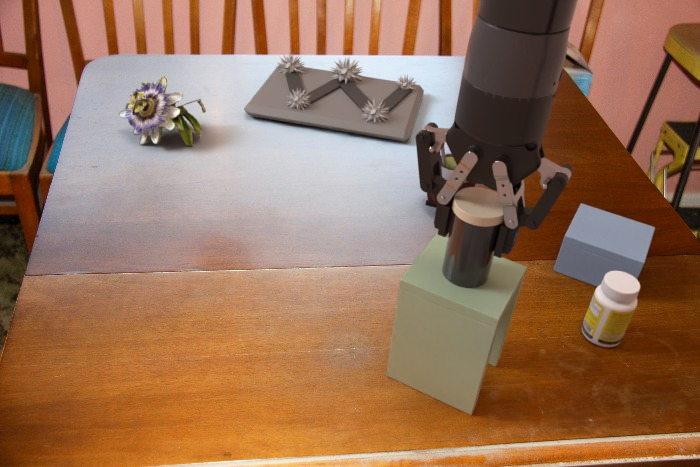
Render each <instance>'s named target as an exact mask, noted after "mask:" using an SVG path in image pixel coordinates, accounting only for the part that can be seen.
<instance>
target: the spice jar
mask: <svg viewBox="0 0 700 467" xmlns="http://www.w3.org/2000/svg"><path fill="white" fill-rule="evenodd" d="M452 208H453V216H452V221H451V226H450V231H449V233H448V235H447V237H448V241H447V246H446V251H445V256H444V260H443V265H442V272H443V275H444V276H445V278H446V279H447V280H448V281H449V282H451V283H453V284H455V285H457V286H460V287H464V288H476V287H479V286H482V285H483V284H485V283H486V282H487V280H488V277H489V273H490V270H491V266H492V262H493V258H494V256H493V254H494V250H495V246H496V243H497V239H498V235H499V231H500V227H501V225H502V223H503V222H504V216H503V209H502V206H500V204H499V198H498V192H497V191H495V190H492V189H490V188H487V187H481V186H480V187H479V186H475V187H469V188H464V189H461V190H460V191H458V192H457V193H456V194H455V196H454V199H453V205H452Z"/></svg>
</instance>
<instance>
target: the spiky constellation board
mask: <svg viewBox="0 0 700 467" xmlns="http://www.w3.org/2000/svg"><path fill="white" fill-rule="evenodd" d="M279 59H280V62H279V61H278V62H277V61H276V65H277V66H275V67H276V68H274V70H273V71H272V73H271V74H270V75H268V77H267V79H266V80H265V81H264V82H263V84H262V85H261V86H260V88H259V89H258V90H257V91H256V92H255V94H254V95H253V96H252V97H251V99H250V100H249V102H248V103H247V104H246V105H245V107H244V108H243V110H244V112H245V113H247V115H248V116H250V117H255V118H261V119H268V120H272V121H280V122H284V123H285V122H286V123H292V124H298V125H302V126H303V125H304V126H309V127H314V128H320V129H327V130H332V131H338V132H345V133H351V134H357V135H363V136H369V137H374V138H380V139H386V140H393V141H396V142H397V141H398V142H405V141H407V140H409V139H410V138H411V135H412V132H413V129H414V126H415V122H416V119H417V116H418V112H419V109H420V105H421V103H422V99H423V96H424V92H425V89H423V88H422V86H421V85H420V84H417V82H418V81H417V80H415V81H414V79H415V77H413V76H410V77H408V76H409V75H408V74H406V75H404V76H402V75H401V74H400V76H399V77H397V78H398V80H396V81H395V80H390V79H383V78H378V77H370V76H366V75H365V76H364V75H362V74H361V73H362V70H363V66H360V67H358V66H359V61H356V59H354V60H353V61H352V62H351V61H350V57H348V58H347V57H346V56H344V61H343V62H342V60H341V59H340V58H339V57H338V60H337V61H338V62H336V61H335V60H334V63H335V65H334V67H331V66H330V69H329V70H327V69H320V68H313V67H307V66H305V61H302V59H301V57H300V55H299V54H297V55H296V56H295V57H294V54H291V53H288V56H285V54H284V53H283V58H282V57H279Z"/></svg>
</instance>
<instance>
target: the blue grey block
mask: <svg viewBox="0 0 700 467" xmlns="http://www.w3.org/2000/svg"><path fill="white" fill-rule="evenodd" d="M655 230H656V227H655V226H652V225H649V224H647V223H643V222H640V221H637V220H634V219H631V218H628V217H625V216H622V215H619V214H615V213H613V212H610V211H608V210H607V211H606V210H604V209H601V208H598V207H594V206H592V205H588V204H585V203H580V204H579V206H578V208H577V209H576V213H575V214H574V215H573V218H572V220H571V222H570V224H569V226H568V228H567V230H566V232H565V234H564V237H563V240H562V242H561V246H560V248H559V251H558V254H557V257H556V261H555V263H554V266H553V271H554V272H555V273H559V274H561V275H564V276H567V277H570V278H572V279H575V280H577V281H581V282H583V283H586V284H589V285H591V286H594V287H596V288H597V287H598V286H599V285H601V283H602V281H603V278H604V276H605V275H606V273H608V272H610V271H622V272H626V273H628V274H630V275H632V276H633V277H635V278H636V279H637V280H638V279H639V277H640V274H641V272H642V270H643V267H644V265H645V263H646V260H647V256H648V252H649V250H650V246H651V243H652V240H653V236H654V233H655Z"/></svg>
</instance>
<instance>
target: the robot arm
mask: <svg viewBox="0 0 700 467" xmlns="http://www.w3.org/2000/svg"><path fill="white" fill-rule="evenodd" d="M578 2H579V0H479V1H478V4H477V11H476V14H475V15H476V16H475V18H474V23H473V25H472V28H471V32H470V34H469V38H468V42H467V47H466V53H465V58H464V64H463V69H462V74H461V79H460V86H459V91H458V96H457V102H456V106H455V107H456V108H455V113H454V120H453V123H452V125H451V127H447V128H446V127H439V125H438V124H436V122H433V121H430V122H428V123H427V124H426V125H424V127H423V128H421V130H420V131H418V132H417V134H416V135H415V145H416V146H415V147H416V157H417V158H416V159H417V168H418V169H417V170H418V180H419V187H420V190H421V191H422V192H423V193H426V194H427V193H429V192H430V193H432V194H433V195H434V196H435V197H436V198H437V207H435V208H436V209H435V214H434V220H433V225H434V228H435V229H437V230H438V231H437V233H438V235H440V236H442V237H448V235H449V231H450V226H451V221H452V216H453V208H452V205H453V199H454V196H455V194H456V192H457V191H458V190H459V188H460V187H461V186H462V184H463V183H464V182H465V180H466V181H468V182H471V183H474V184H475V185H483V186H485V188H487V189H490V190H492V191H495V192H497V193H498V198H499V204H500V206H502V209H503V216H504V221H503V223H502V225H501V227H500V231H499V235H498V239H497V243H496V246H495V250H494V254H493V256H496V257H498V258H501V257H502V258H503V256H504V255H509V254H510V253H511V252H512V251H513V249H514V247H515V245H516V243H517V240H518V236H519V232H520V229H521V227H526V228H527V229H529V230H531V231H536V230H538V229H539V228H540V227H541V225H542V223H543V222H544V220H545V219H546V217H547V216H548V214H549V213H550V211H551V210H552V208H553V207H554V205H555V204H556V202H557V200H558V199H559V197H560V196H561V195H562V193H563V191H564V190H565V189H566V186H567V185H568V183H569V181H570V179H571V178H572V176H573V174H574V168H573V166H572V165H571V164H569V163H562V164H561V165H559V164H557V163H555V162H553V161H552V160H550V159H548V158H546V157H545V150H544V145H543V141H544V137H545V134H546V131H547V126H548V122H549V118H550V115H551V111H552V109H553V105H554V102H555V97H556V94H557V90H558V87H559V83H560V82H561V80H562V78H563V73H564V65H565V62H566V57H567V52H568V46H569V37H570V32H571V28H572V27H571V26H572V23H573V20H574V16H575V13H576V9H577V5H578ZM445 143H446V144H445ZM445 145H447V147H448V150H449V152H450V154H452V156H453V158H454V160H455V162H456V164H457V167H456V168H455V170H454V171H453V173H452V174H451V176H450V177H449V179H448V180H446V179H444V178H443V177H442V167H441V149H442V148H443V147H444V148H445ZM536 172H538V173H539V176H540V180H539V185H540V186H541V188H542V189H543V190H544V191H543V193H542V194H541V196H540V197H539V199H538V200H537V202H536V203H535V206H526V201H525V187H526V186H525V179H526V178H528V177H530V176H531V175H533V174H534V173H536Z"/></svg>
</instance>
